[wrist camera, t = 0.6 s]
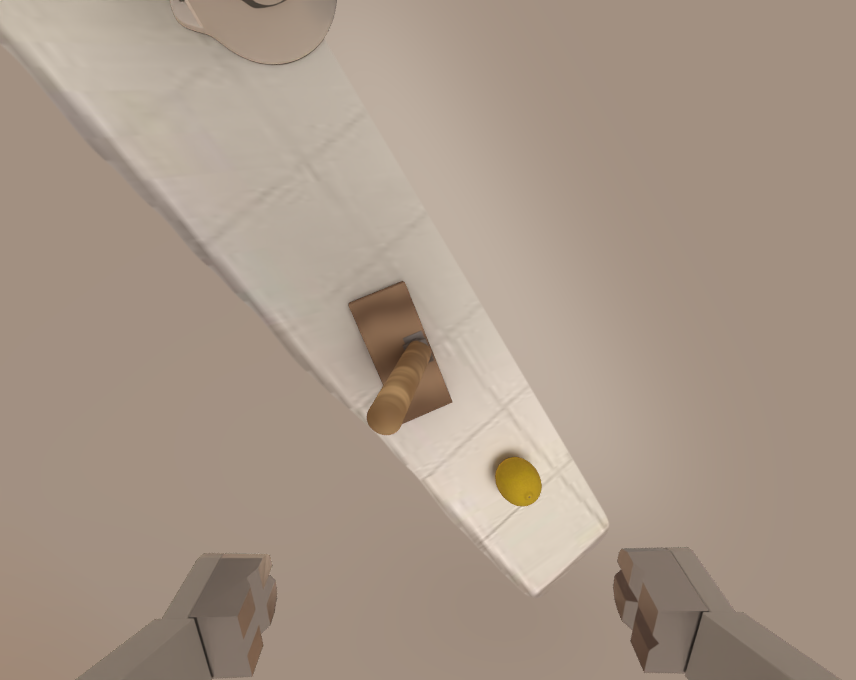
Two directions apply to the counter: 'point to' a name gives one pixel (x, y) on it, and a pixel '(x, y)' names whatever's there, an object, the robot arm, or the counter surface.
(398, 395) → the tan wooden peg
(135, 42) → the counter surface
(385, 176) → the counter surface
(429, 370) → the brown wooden block
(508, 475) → the lemon
